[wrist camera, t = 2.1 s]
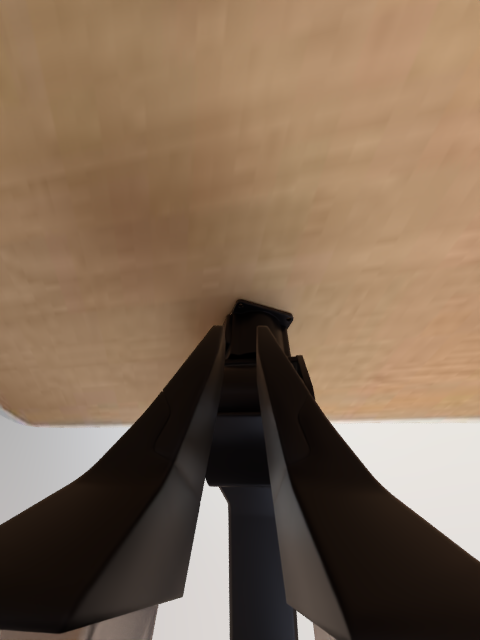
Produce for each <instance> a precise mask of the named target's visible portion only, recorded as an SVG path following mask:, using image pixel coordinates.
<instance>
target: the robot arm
mask: <svg viewBox="0 0 480 640" xmlns="http://www.w3.org/2000/svg"><path fill="white" fill-rule="evenodd" d="M239 304H242V305H239ZM287 318H289V319H287ZM292 321H293V315H292V314H289V313H286V312H282V311H279V310H276V309H272V308H269V307H265V306H262V305H258V304H255V303H251V302H248V301H245V300H238V301H237V302H236V304H235V306H234V308H233V311H232V313H231V314H229V315H227V317H226V319H225V322H224V324H223V326H213V327H212V328H211V329H210V331H209V332H208V333H207V334H206V336H205V337H204V338H203V340H202V341H201V342H200V343H199V345H198V346H197V347H196V348H195V350H194V351H193V352H192V353H191V355H190V356H189V357H188V359H187V360H186V361H185V362H184V364H183V365H182V366H181V367H180V369H179V370H178V371H177V373H176V374H175V375H174V376H173V378H172V379H171V380H170V381H169V383H168V384H167V385H166V386H165V388H164V389H163V391H162V392H161V393H160V394H159V395H158V397H157V398H156V399H155V400H154V402H153V403H152V404H151V405H150V406H149V408H148V409H147V410H146V411H145V412H144V413H143V415H142V416H141V417H140V418H139V419H138V420H137V421H136V422H135V423H134V424H133V425H132V426H131V428H130V429H129V430H128V431H127V432H126V433H125V434H124V435H123V436H122V437H121V438H120V439H119V440H118V441H117V442H116V443H115V444H114V445H113V446H112V447H111V448H110V449H109V451H108V452H107V453H106V454H105V455H104V456H103V457H102V458H101V459H100V460H99V461H98V462H97V463H96V464H95V465H94V466H93V467H92V468H90V470H88V471H87V472H86V473H84V474H83V475H82V476H81V477H79V478H78V479H76V480H75V481H73V482H72V483H70V484H69V485H67V486H65V487H64V488H62V489H60V490H59V491H57V492H55V493H54V494H52V495H50V496H48V497H47V498H45V499H43V500H42V501H40V502H38V503H37V504H35V505H33V506H32V507H30V508H28V509H26V510H25V511H23V512H21V513H20V514H18V515H16V516H15V517H13V518H11V519H10V520H8V521H6V522H5V523H3V524H1V525H0V640H152V635H153V630H154V625H155V620H156V614H157V609H158V604H161V603H164V602H168V601H171V600H174V599H177V598H181V597H183V593H184V587H185V582H186V577H187V571H188V566H189V560H190V556H191V550H192V544H193V539H194V534H195V529H196V523H197V518H198V513H199V507H200V501H201V497H202V491H203V486H204V481H205V478H206V481H207V483H208V485H209V486H214V487H215V486H216V487H217V486H218V487H219V488H220V490H221V492H222V493H223V495H224V497H225V499H226V500H227V502H228V513H229V604H230V605H229V606H230V640H298V629H297V615H296V610H297V611H298V612H299V613H301V614H302V615H303V616H305V617H306V618H308V619H309V620H310V621H312V622H313V625H314V634H315V640H480V562H479V561H478V560H477V559H475V558H474V557H472V556H471V555H470V554H469V553H467V552H466V551H465V550H463V549H462V548H461V547H459V546H458V545H457V544H456V543H454V542H453V541H452V540H450V539H449V538H448V537H446V536H445V535H444V534H443V533H441V532H440V531H439V530H437V529H436V528H435V527H433V526H432V525H431V524H430V523H428V522H427V521H426V520H424V519H423V518H422V517H420V516H419V515H418V514H417V513H415V512H414V511H413V510H411V509H410V508H409V507H407V506H406V505H405V504H403V503H402V502H401V501H400V500H398V499H397V498H395V497H394V496H393V495H392V494H391V493H390V492H388V491H387V490H386V489H385V488H384V487H383V486H382V485H381V484H380V483H379V482H378V481H377V480H376V479H375V478H374V477H373V476H372V474H371V473H370V472H369V471H368V470H367V468H366V467H365V466H364V465H363V463H362V462H361V461H360V460H359V458H358V457H357V456H356V455H355V453H354V452H353V451H352V450H351V448H350V447H349V446H348V445H347V443H346V442H345V441H344V440H343V438H342V437H341V436H340V435H339V433H338V432H337V431H336V430H335V428H334V427H333V426H332V424H331V423H330V422H329V420H328V419H327V418H326V416H325V415H324V413H323V412H322V410H321V409H320V407H319V406H318V404H317V403H316V401H315V396H314V390H313V386H312V383H311V380H310V377H309V374H308V371H307V368H306V365H305V362H304V359H303V356H302V355H296V357H291V354H290V347H289V341H288V334H287V329H288V327H289V326H290V324H291V323H292Z"/></svg>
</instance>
